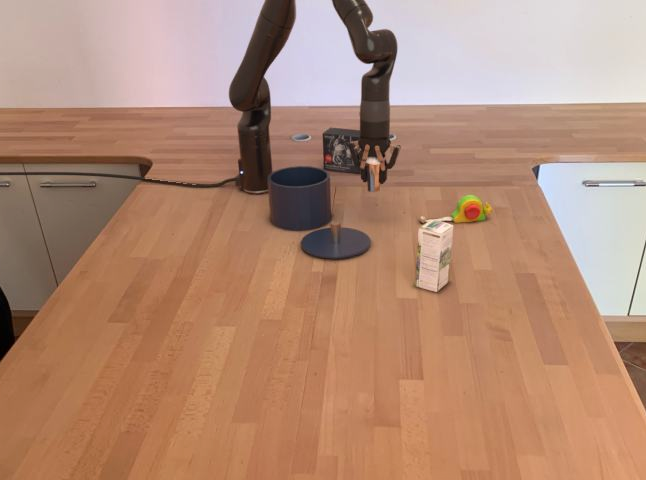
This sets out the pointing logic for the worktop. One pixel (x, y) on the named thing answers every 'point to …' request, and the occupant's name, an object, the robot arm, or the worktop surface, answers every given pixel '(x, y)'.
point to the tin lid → (335, 242)
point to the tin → (299, 198)
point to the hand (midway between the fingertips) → (373, 181)
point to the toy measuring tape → (466, 211)
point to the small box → (340, 150)
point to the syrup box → (433, 255)
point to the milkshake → (373, 174)
